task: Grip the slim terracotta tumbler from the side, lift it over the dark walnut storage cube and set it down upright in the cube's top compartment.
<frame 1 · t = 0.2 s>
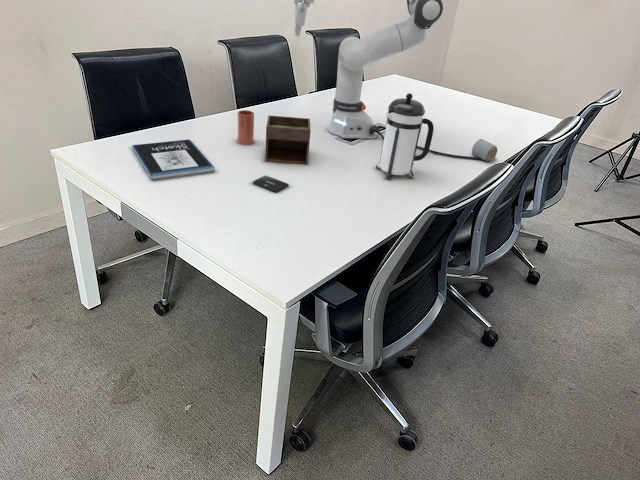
hand: (297, 33, 187), 39 cm above the table, tool pointing down, fingers open, 8 cm apart
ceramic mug: (483, 158, 198), on the table
coffee press: (396, 173, 176), on the table
tumbler: (245, 141, 188), on the table
storage cube: (286, 156, 179), on the table
sketchbook: (172, 160, 167), on the table
paper cup: (406, 154, 194), on the table
solid state drive: (270, 185, 157), on the table
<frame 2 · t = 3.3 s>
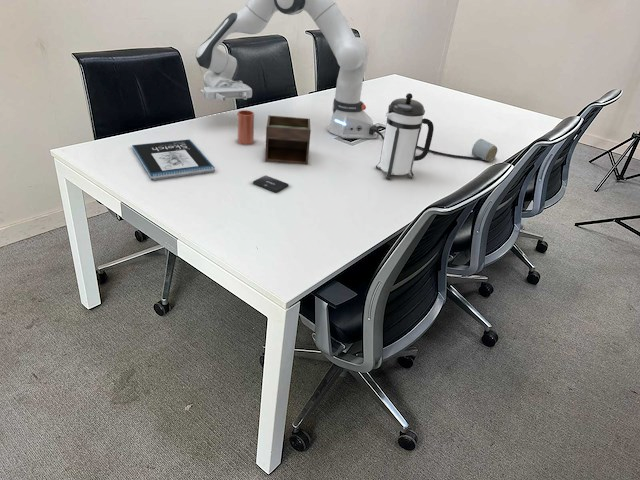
hand: (234, 98, 189), 14 cm above the table, tool horizontal, fingers open, 8 cm apart
nothing on the table moved.
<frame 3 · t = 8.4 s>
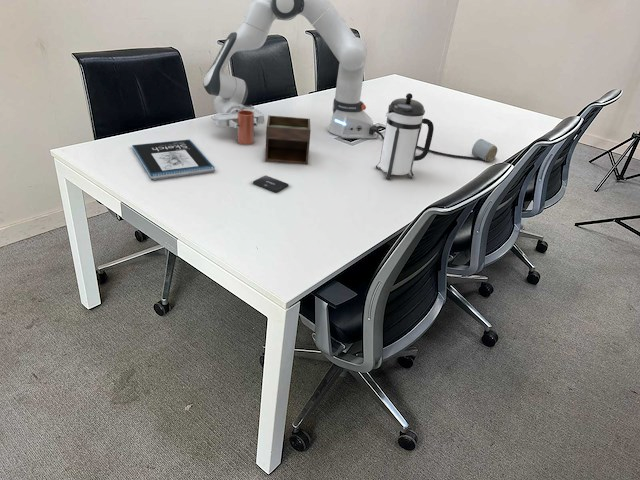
hand: (246, 125, 184), 7 cm above the table, tool horizontal, fingers closed on tumbler, 6 cm apart
tumbler: (245, 141, 188), on the table, touching gripper
everything else where it was.
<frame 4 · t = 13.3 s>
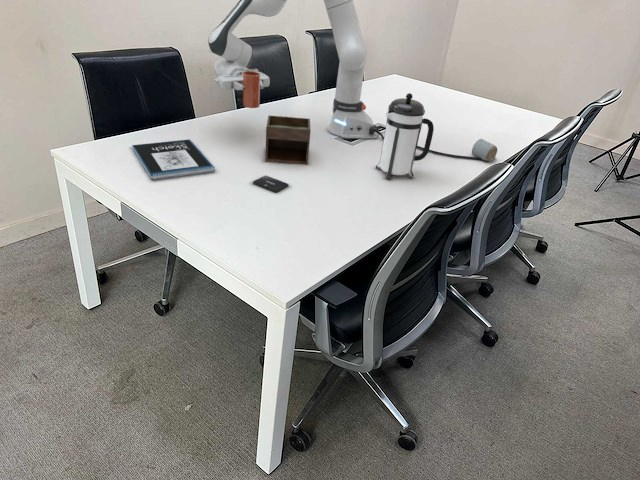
hand: (252, 87, 174), 23 cm above the table, tool horizontal, fingers closed on tumbler, 6 cm apart
tumbler: (251, 105, 178), point 16 cm above the table, touching gripper
everything else where it was.
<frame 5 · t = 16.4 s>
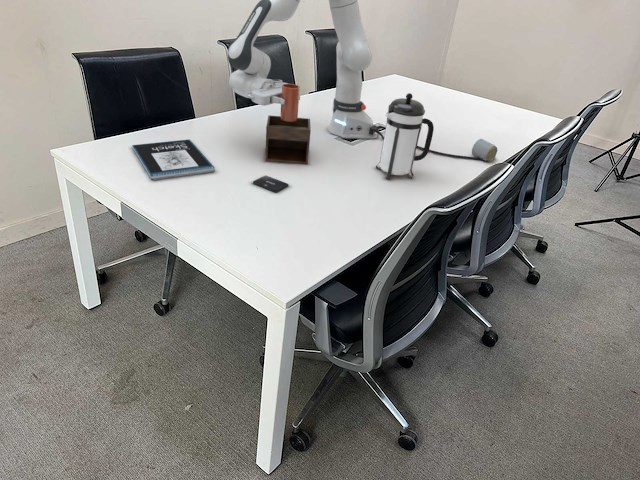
hand: (292, 100, 167), 22 cm above the table, tool horizontal, fingers closed on tumbler, 6 cm apart
tumbler: (288, 118, 171), point 15 cm above the table, touching gripper
everything else where it was.
when the fingers open (17 cm above the table, at t = 18.6 s): tumbler stays where it is, resting on storage cube.
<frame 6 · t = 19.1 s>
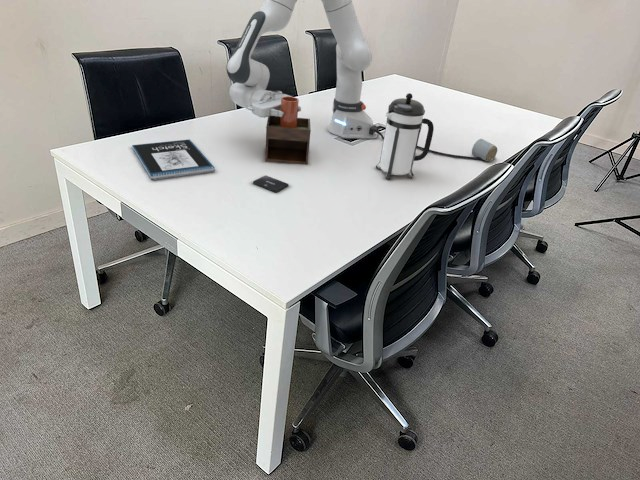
hand: (291, 111, 170), 18 cm above the table, tool horizontal, fingers open, 8 cm apart
tumbler: (288, 131, 174), point 10 cm above the table, touching storage cube
everything else where it was.
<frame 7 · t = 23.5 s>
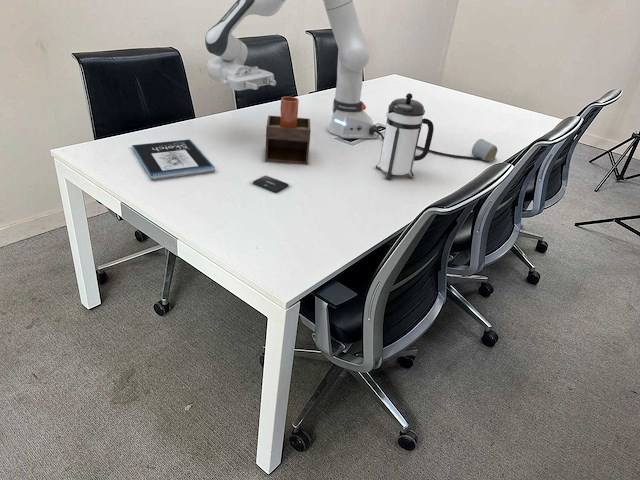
hand: (266, 85, 172), 24 cm above the table, tool horizontal, fingers open, 8 cm apart
nothing on the table moved.
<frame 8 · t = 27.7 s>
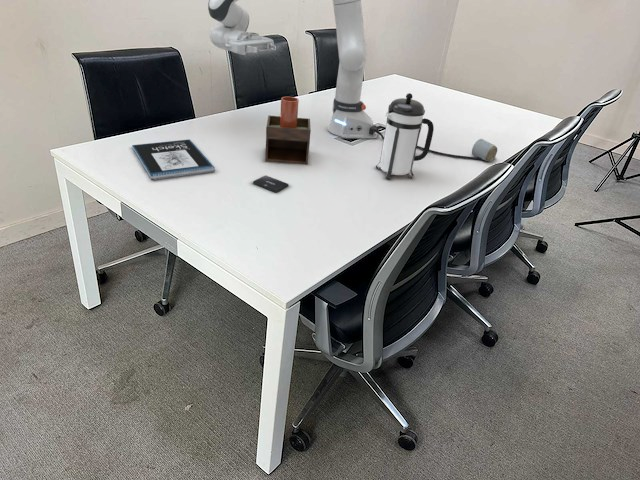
hand: (266, 49, 180), 34 cm above the table, tool horizontal, fingers open, 8 cm apart
nothing on the table moved.
at the end: tumbler inside the target area on the storage cube (0.1 cm from its centre), point 10.2 cm above the storage cube's base; tumbler tilted 0°; the gripper is holding nothing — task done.
